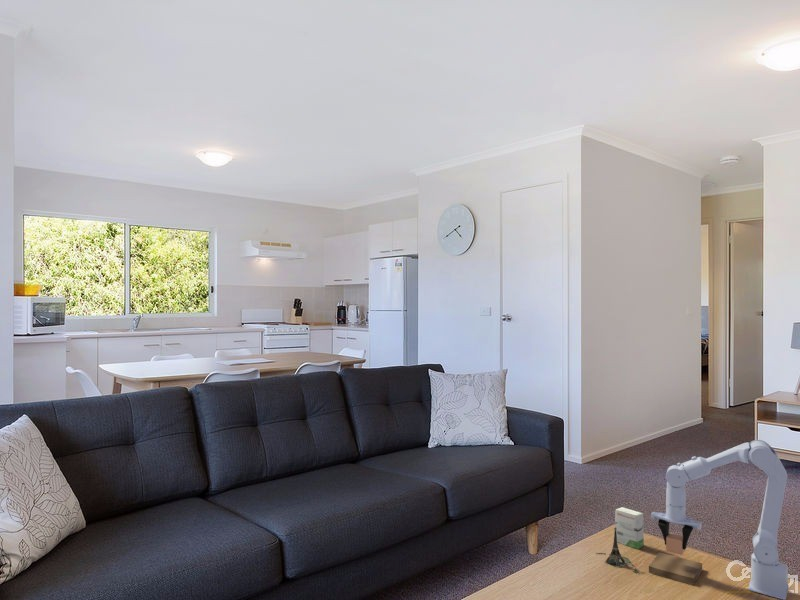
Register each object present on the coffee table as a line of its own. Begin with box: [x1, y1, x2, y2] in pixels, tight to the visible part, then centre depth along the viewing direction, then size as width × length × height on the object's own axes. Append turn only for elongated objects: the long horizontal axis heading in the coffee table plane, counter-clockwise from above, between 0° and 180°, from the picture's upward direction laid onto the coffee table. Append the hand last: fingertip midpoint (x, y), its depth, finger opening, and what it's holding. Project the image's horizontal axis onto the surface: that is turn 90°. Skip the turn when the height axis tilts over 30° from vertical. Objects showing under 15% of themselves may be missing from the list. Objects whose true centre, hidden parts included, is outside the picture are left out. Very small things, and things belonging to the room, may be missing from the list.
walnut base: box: [648, 551, 703, 586], centre depth 185 cm, size 13×13×2 cm
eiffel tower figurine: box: [595, 524, 641, 575], centre depth 190 cm, size 15×10×13 cm
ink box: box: [614, 506, 645, 550], centre depth 206 cm, size 9×5×12 cm, turn 39°
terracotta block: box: [665, 532, 686, 556], centre depth 185 cm, size 5×5×4 cm
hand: (675, 546), depth 185 cm, fingers closed on terracotta block, 5 cm apart
